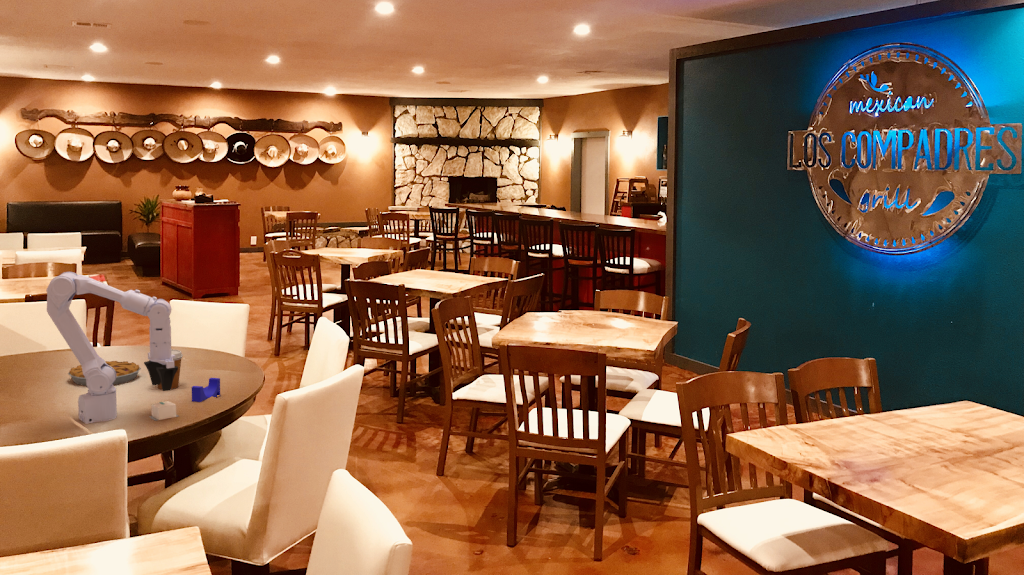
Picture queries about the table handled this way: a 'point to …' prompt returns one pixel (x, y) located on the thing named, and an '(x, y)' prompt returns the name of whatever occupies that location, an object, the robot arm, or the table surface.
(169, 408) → the small white box
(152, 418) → the base plate
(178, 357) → the disposable coffee cup
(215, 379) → the blue u-shaped cradle
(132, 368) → the pie
